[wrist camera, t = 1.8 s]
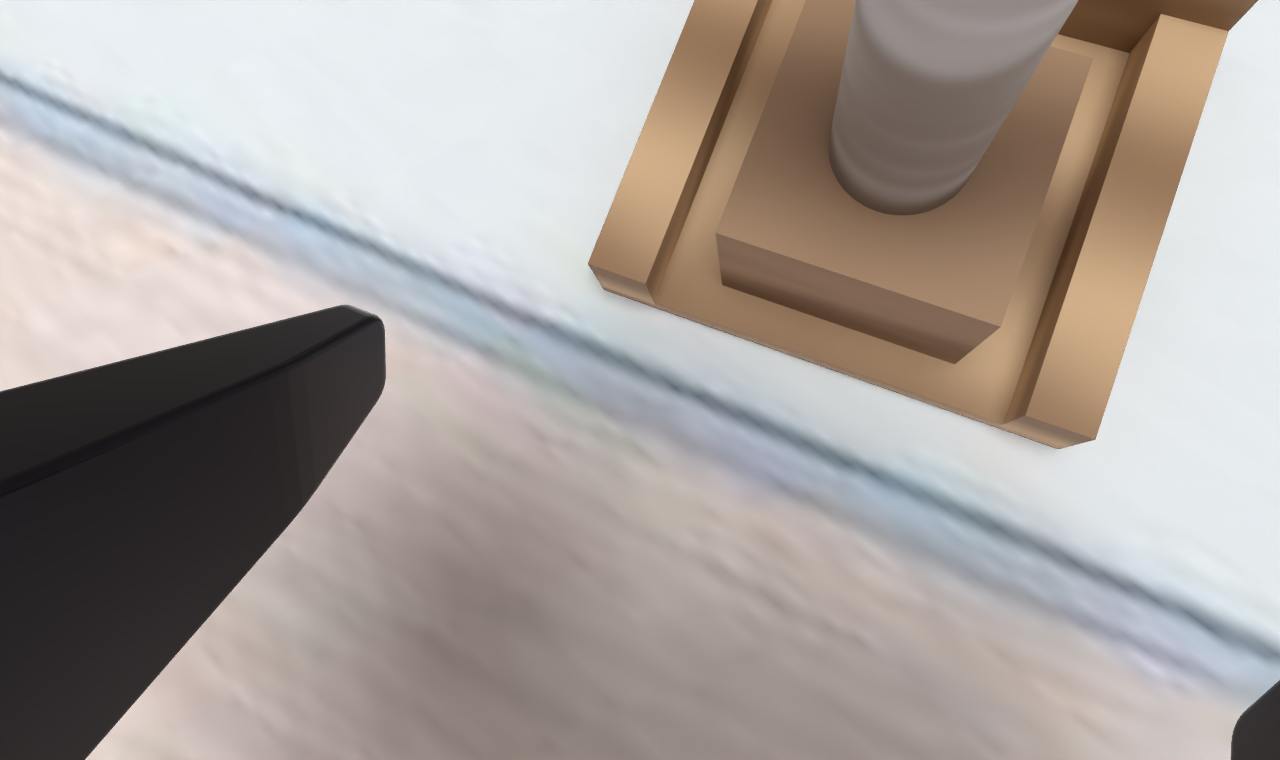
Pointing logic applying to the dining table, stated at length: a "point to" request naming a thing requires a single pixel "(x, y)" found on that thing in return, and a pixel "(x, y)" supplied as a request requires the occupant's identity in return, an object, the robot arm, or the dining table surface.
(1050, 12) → the peg on square base
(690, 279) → the wooden u-channel cradle
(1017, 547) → the dining table surface
